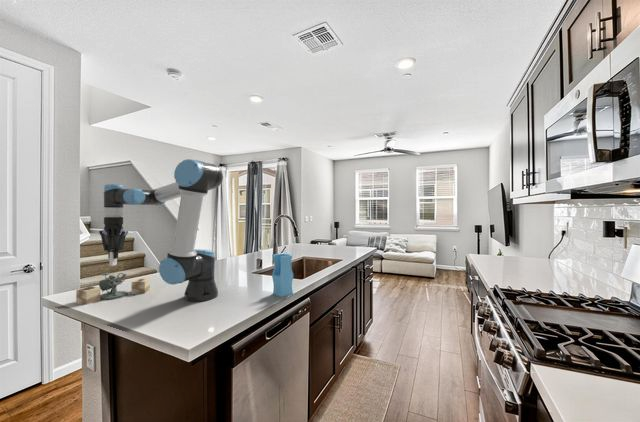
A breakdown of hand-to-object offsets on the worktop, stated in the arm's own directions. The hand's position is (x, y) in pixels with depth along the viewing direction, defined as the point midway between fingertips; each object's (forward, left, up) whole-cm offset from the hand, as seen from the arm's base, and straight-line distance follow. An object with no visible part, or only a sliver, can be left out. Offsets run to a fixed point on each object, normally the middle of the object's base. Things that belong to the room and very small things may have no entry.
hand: (113, 265), depth 132 cm
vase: (-81, -12, -15) cm, 83 cm away
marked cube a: (-8, -8, -15) cm, 19 cm away
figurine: (0, 0, -15) cm, 15 cm away
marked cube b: (+5, +8, -15) cm, 18 cm away
